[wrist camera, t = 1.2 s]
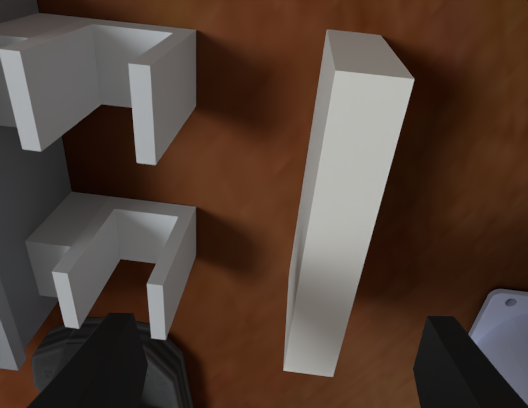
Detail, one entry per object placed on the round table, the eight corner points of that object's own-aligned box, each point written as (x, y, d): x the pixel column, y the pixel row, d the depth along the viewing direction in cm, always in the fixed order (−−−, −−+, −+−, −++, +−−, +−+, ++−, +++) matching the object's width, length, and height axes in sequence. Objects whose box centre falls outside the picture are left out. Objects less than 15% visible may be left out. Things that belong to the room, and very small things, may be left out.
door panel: (327, 28, 16) (335, 70, 11) (380, 34, 16) (414, 79, 11) (289, 272, 22) (283, 370, 17) (327, 276, 22) (332, 377, 17)
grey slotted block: (196, -21, 15) (130, 1, 10) (196, 279, 23) (159, 389, 17) (-109, -53, 15) (-345, -49, 10) (-8, 254, 23) (-109, 353, 18)
